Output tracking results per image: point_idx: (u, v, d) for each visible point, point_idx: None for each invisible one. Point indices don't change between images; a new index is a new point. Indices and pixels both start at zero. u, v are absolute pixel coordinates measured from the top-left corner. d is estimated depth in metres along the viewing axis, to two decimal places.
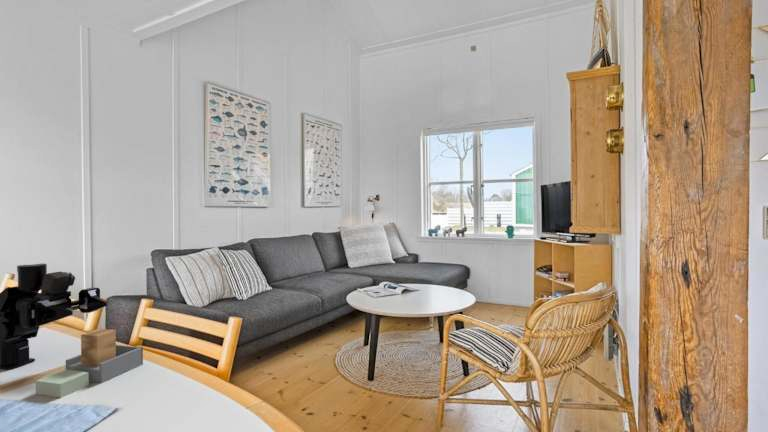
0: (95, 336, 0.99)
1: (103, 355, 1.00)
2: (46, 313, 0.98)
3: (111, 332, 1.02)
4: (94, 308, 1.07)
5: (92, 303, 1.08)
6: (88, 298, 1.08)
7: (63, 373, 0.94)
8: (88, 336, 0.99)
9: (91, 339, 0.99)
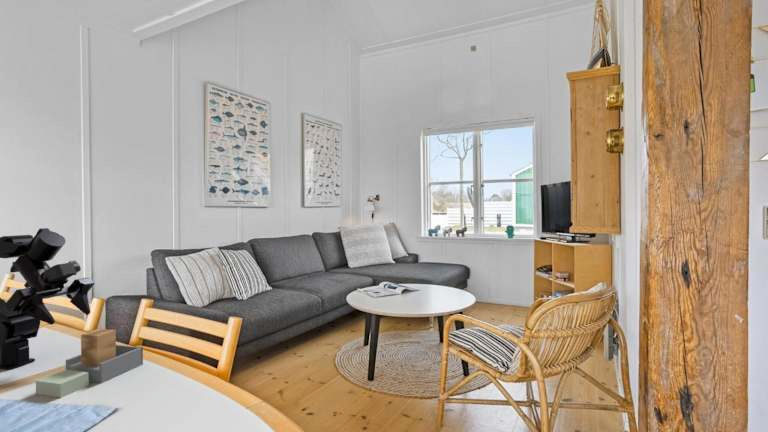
0: (95, 336, 0.99)
1: (103, 355, 1.00)
2: (33, 305, 0.99)
3: (111, 332, 1.02)
4: (77, 305, 1.09)
5: (79, 300, 1.09)
6: (78, 293, 1.09)
7: (63, 373, 0.94)
8: (88, 336, 0.99)
9: (91, 339, 0.99)
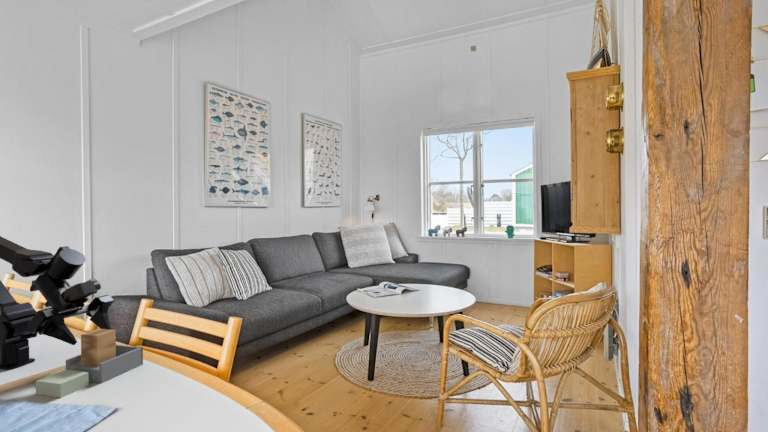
0: (95, 336, 0.99)
1: (103, 355, 1.00)
2: (54, 325, 0.97)
3: (111, 332, 1.02)
4: (97, 324, 1.07)
5: (99, 318, 1.07)
6: (99, 311, 1.07)
7: (63, 373, 0.94)
8: (88, 336, 0.99)
9: (91, 339, 0.99)
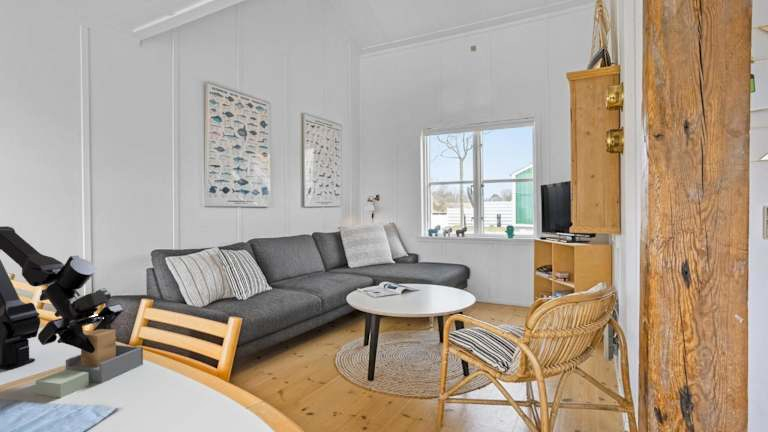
0: (95, 336, 0.99)
1: (103, 355, 1.00)
2: (73, 334, 0.98)
3: (111, 332, 1.02)
4: None
5: None
6: (102, 323, 1.05)
7: (63, 373, 0.94)
8: (88, 336, 0.99)
9: (91, 339, 0.99)
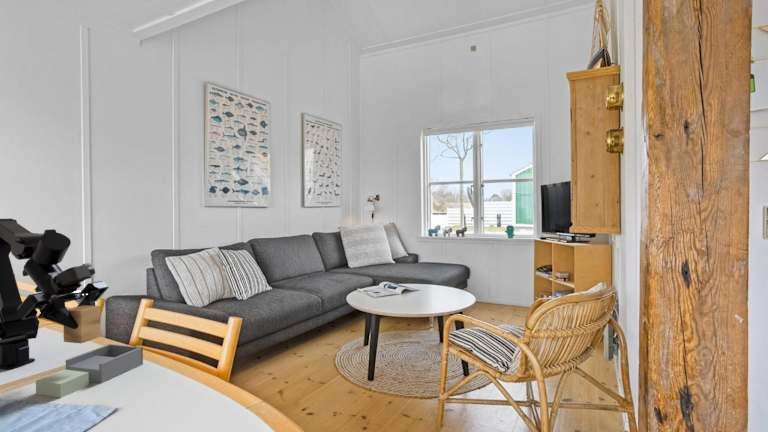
0: (79, 311, 0.94)
1: (88, 332, 0.96)
2: (54, 309, 0.94)
3: (96, 308, 0.98)
4: None
5: None
6: (85, 299, 1.00)
7: (63, 373, 0.94)
8: (71, 311, 0.95)
9: (74, 315, 0.94)
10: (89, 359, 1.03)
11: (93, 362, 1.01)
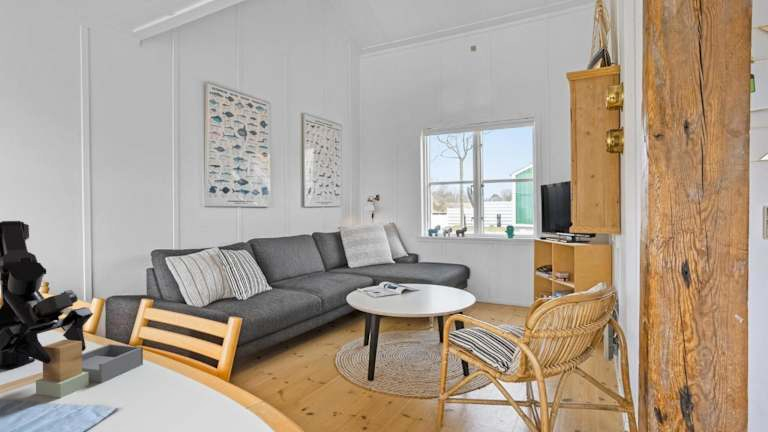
0: (57, 348, 0.90)
1: (67, 370, 0.91)
2: (26, 342, 0.88)
3: (77, 344, 0.93)
4: None
5: (73, 334, 0.97)
6: (73, 326, 0.97)
7: None
8: (50, 348, 0.90)
9: (53, 352, 0.90)
10: (89, 359, 1.03)
11: (93, 362, 1.01)
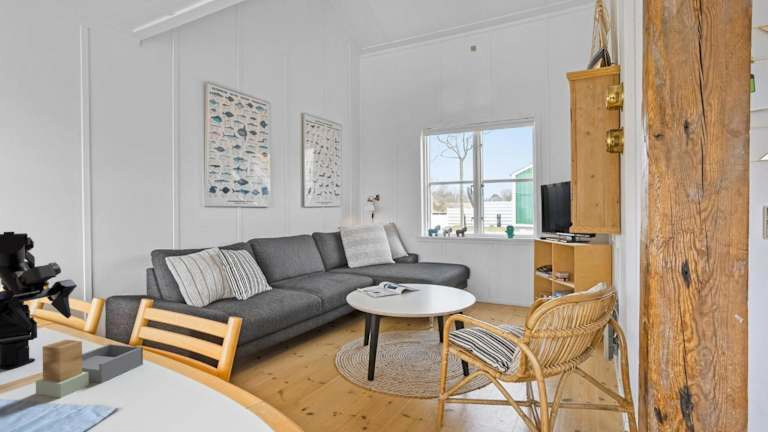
0: (57, 348, 0.90)
1: (67, 370, 0.91)
2: (9, 308, 0.96)
3: (77, 344, 0.93)
4: (58, 308, 1.06)
5: (59, 303, 1.06)
6: (59, 295, 1.06)
7: None
8: (50, 348, 0.90)
9: (53, 352, 0.90)
10: (89, 359, 1.03)
11: (93, 362, 1.01)
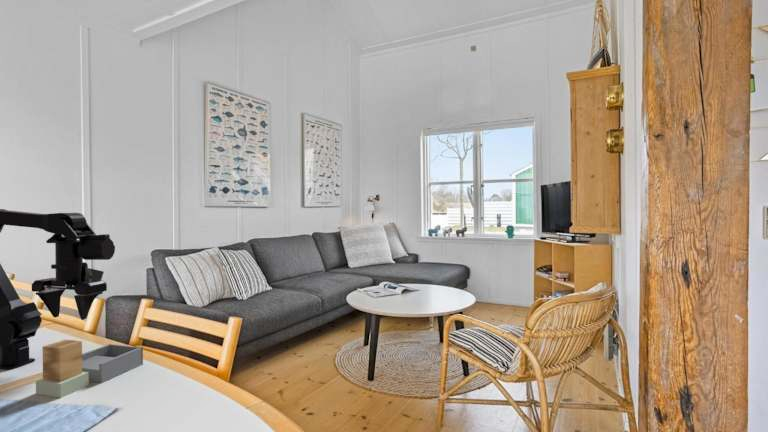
0: (57, 348, 0.90)
1: (67, 370, 0.91)
2: None
3: (77, 344, 0.93)
4: (50, 303, 1.08)
5: (54, 299, 1.09)
6: (58, 292, 1.10)
7: None
8: (50, 348, 0.90)
9: (53, 352, 0.90)
10: (89, 359, 1.03)
11: (93, 362, 1.01)
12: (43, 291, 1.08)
